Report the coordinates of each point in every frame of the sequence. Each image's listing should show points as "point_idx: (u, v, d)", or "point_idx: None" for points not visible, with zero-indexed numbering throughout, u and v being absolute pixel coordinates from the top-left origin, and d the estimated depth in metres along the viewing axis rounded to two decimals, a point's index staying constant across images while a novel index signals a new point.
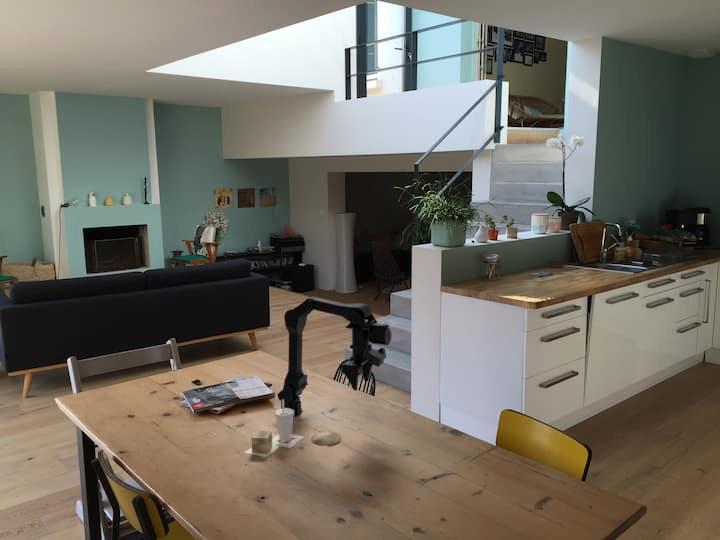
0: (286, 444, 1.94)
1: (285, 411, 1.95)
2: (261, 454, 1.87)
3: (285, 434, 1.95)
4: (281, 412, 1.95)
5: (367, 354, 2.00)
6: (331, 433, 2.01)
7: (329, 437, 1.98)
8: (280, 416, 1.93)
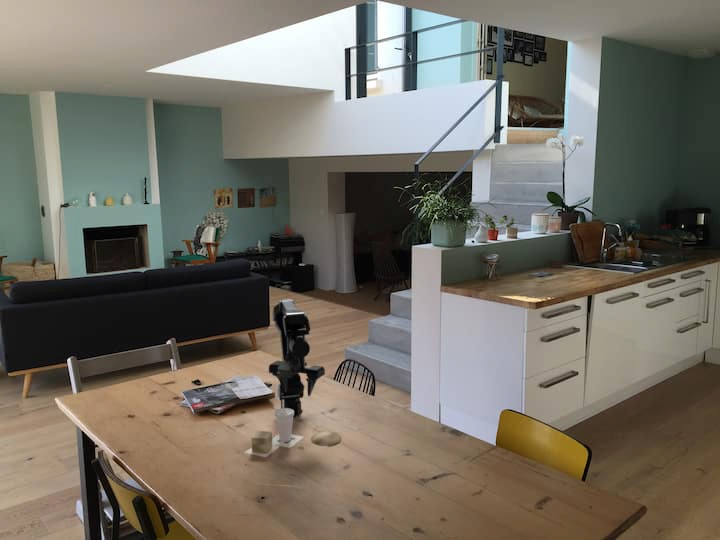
0: (286, 444, 1.94)
1: (285, 411, 1.95)
2: (261, 454, 1.87)
3: (285, 434, 1.95)
4: (281, 412, 1.95)
5: None
6: (331, 433, 2.01)
7: (329, 437, 1.98)
8: (280, 416, 1.93)
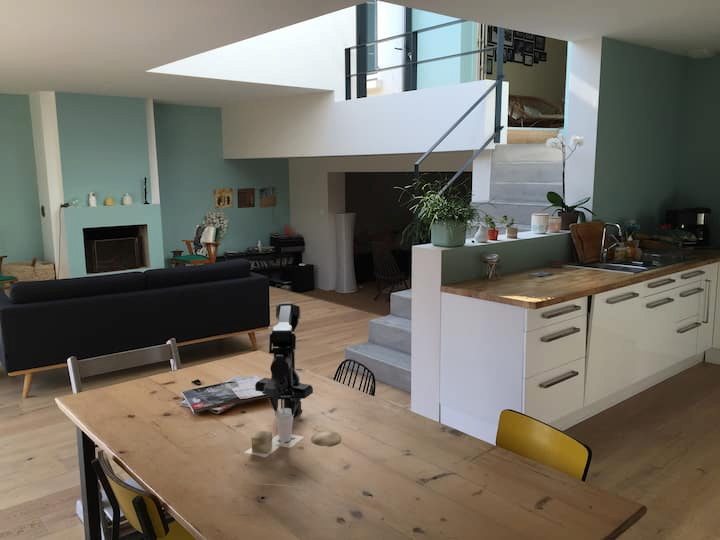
0: (286, 444, 1.94)
1: (285, 411, 1.95)
2: (261, 454, 1.87)
3: (285, 434, 1.95)
4: (281, 412, 1.95)
5: None
6: (331, 433, 2.01)
7: (329, 437, 1.98)
8: (280, 416, 1.93)
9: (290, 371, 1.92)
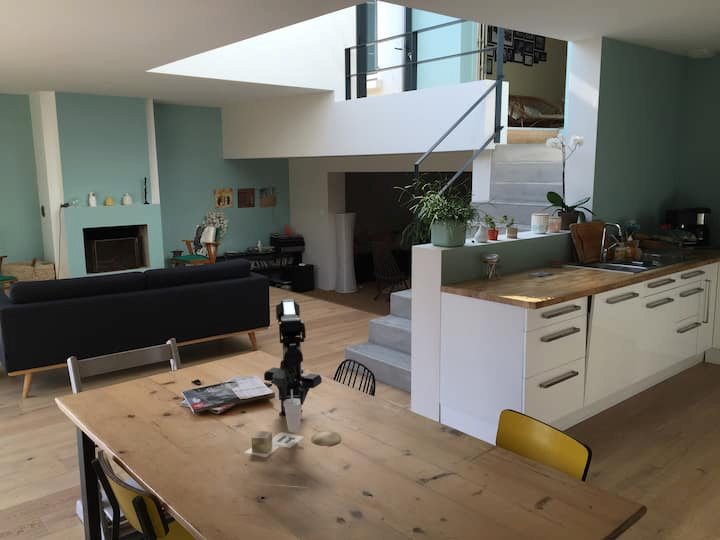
0: (286, 444, 1.94)
1: (294, 401, 1.95)
2: (261, 454, 1.87)
3: (294, 424, 1.94)
4: (290, 402, 1.94)
5: None
6: (331, 433, 2.01)
7: (329, 437, 1.98)
8: (289, 406, 1.92)
9: None
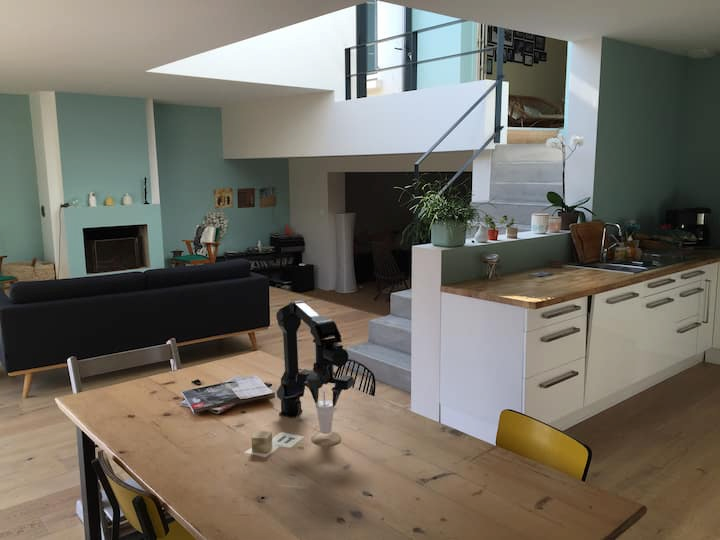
0: (286, 444, 1.94)
1: (326, 403, 1.95)
2: (261, 454, 1.87)
3: (326, 425, 1.95)
4: (322, 404, 1.95)
5: None
6: (331, 433, 2.01)
7: (329, 437, 1.98)
8: (321, 408, 1.93)
9: None
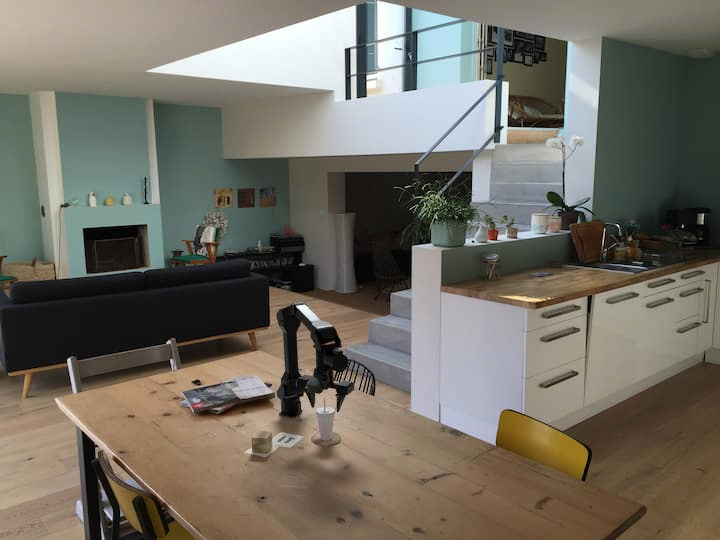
0: (286, 444, 1.94)
1: (326, 409, 1.96)
2: (261, 454, 1.87)
3: (326, 432, 1.95)
4: (322, 410, 1.95)
5: None
6: None
7: None
8: (322, 414, 1.93)
9: None
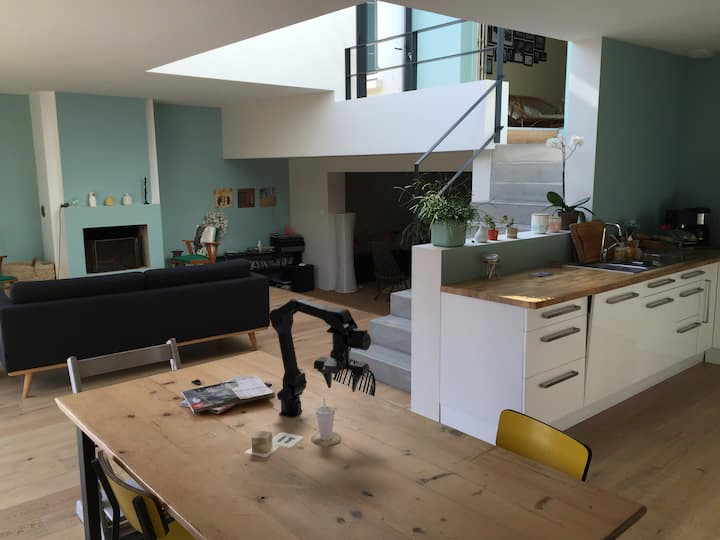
0: (286, 444, 1.94)
1: (326, 409, 1.96)
2: (261, 454, 1.87)
3: (326, 432, 1.95)
4: (322, 410, 1.95)
5: None
6: None
7: None
8: (322, 414, 1.93)
9: (348, 350, 2.02)
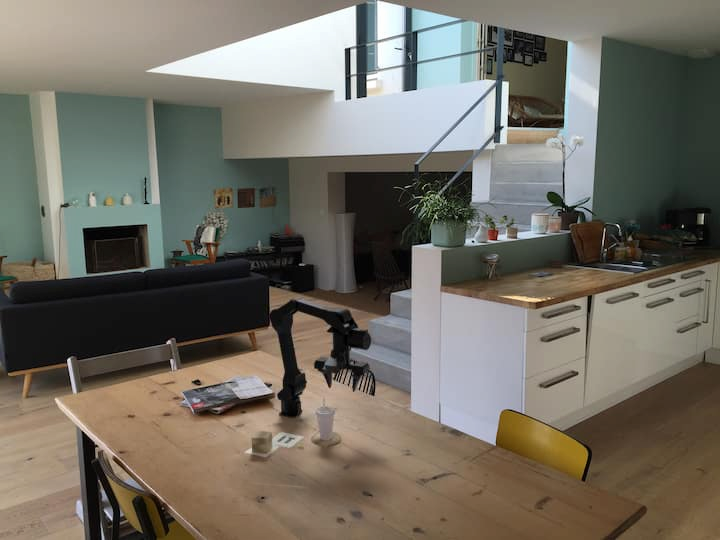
0: (286, 444, 1.94)
1: (326, 409, 1.96)
2: (261, 454, 1.87)
3: (326, 432, 1.95)
4: (322, 410, 1.95)
5: None
6: None
7: None
8: (322, 414, 1.93)
9: (348, 350, 2.03)
